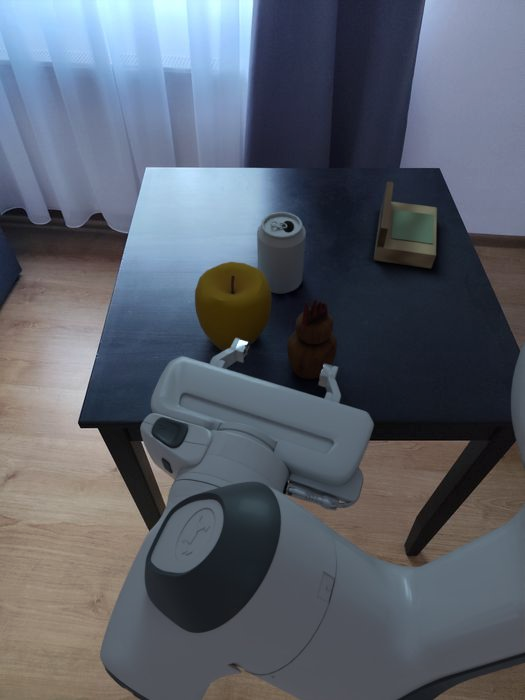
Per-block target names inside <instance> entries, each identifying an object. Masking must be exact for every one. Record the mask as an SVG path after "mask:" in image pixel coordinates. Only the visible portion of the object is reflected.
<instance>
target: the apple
mask: <svg viewBox="0 0 525 700" xmlns="http://www.w3.org/2000/svg"><path fill="white" fill-rule="evenodd" d="M194 307H195V314H196V317H197V320H198V322H199V325H200V328H201V329H202V331H203V333H204V334H205V336H206V337H207V338H208V339H209V341H210V342H211V343H212V344H213V345H214V346H215V347H217V348H218V349H219V350H221V351H222V352H223V351H225V350H226V349H228V348H229V349H230V347H231V345H232V343H233V341H234V340H235V338H239V339H242V340H245V341H249V343H250V344H249V346H251V345H252V344H254V342H256V340H257V339H258V338H259V337H260V336H261V335H262V333H263V332H264V330H265V329H266V327H267V325H268V323H269V320H270V316H271V313H272V312H271V310H272V292H271V290H270V286H269V284H268V282H267V279H266V277H265V275H264V273H262V272H261V271H260V270H259V269H258V267H255V266H252V265H250V264H247V263H244V262H238V261H228V262H222V263H220V264H218V265H215V266H214V267H211V268H209V269H207V270H206V271H204V272H203V273H202V275H200V277H199V278H198V282H197V284H196V287H195V290H194Z"/></svg>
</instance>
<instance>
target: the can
mask: <svg viewBox="0 0 525 700" xmlns="http://www.w3.org/2000/svg"><path fill="white" fill-rule="evenodd" d="M256 234H257V235H256V237H257V238H256V241H257V243H256V244H257V248H256V249H257V268H258V269H259V270H260V271H261V272H262V273H264V275H265V277H266V279H267V282H268V284H269V286H270V290H271V293H273V294H279V295H281V294H282V295H283V294H287V293H290V292H293V291H295V290H296V289H298V288H299V287H300V285H301V284H302V283H303V282H302V281H303V278H304V277H303V276H304V262H305V249H306V236H307V231H306V228H305V226H304V225H303V222H302V219H300V217H298V216H297V215H295V214H294V213H292V212H291V213H290V212H288V211H287V212H286V211H276V212H272V213H269V214H268V215H266V216H264V217H263V219H262V220H261V223H260V225H259V226H258V228H257V230H256Z"/></svg>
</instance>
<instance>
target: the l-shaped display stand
mask: <svg viewBox="0 0 525 700" xmlns="http://www.w3.org/2000/svg"><path fill="white" fill-rule="evenodd" d="M393 191H394V182H393V181H387V182H386V184H385V189H384V194H383V198H382V202H381V208H380V211H379V217H378V224H377V225H378V226H377V232H376V239H375V247H374V254H373V261H377V262H383V263H384V262H385V263H392V264H397V265H404V266H411V267H417V268H425V269H432V268H433V265H434V262H435V260H436V257H437V226H438V225H437V221H438V220H437V219H438V207H435V206H428V205H422V204H413V203H406V202H398V201H392V200H393Z"/></svg>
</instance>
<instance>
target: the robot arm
mask: <svg viewBox="0 0 525 700" xmlns="http://www.w3.org/2000/svg"><path fill="white" fill-rule="evenodd" d="M249 344H250V343H249V341H245V340H242V339H239V338H235V340H234V341H233V343H232V345H231V347H230V349H229V348H228V349H226V350H225V351H223V350H222V351H221V352H220V353H219V352H218V354H216V355H214V356H213V357H212V358H211V359H210V362H209V363H208V362H205V361H202V360H199V359H198V360H197V359H194V358H191V357H189V356H185V355H181V356H178V357H176V358H174V359H172V360H170V361H169V362H168V363H167V365H166V366H165V368H164V370H163V372H162V373H161V374H160V376H159V379H158V381H157V383H156V385H155V388H154V389H153V393H152V394H151V398H150V408H151V412H152V413H149V414H147V416H145V417H144V419H143V420H142V423H141V424H140V428H139V429H140V435H141V439H142V442H143V444H144V447H145V449H146V451H147V453H148V455H149V457H150V459H151V460H152V462H153V463H154V464H155V466H156V467H158V468H159V469H160V470H161V471H163V472H164V473H165V474H167V476H169V477H170V478H171V479H173V480H174V481H173V482H172V484H171V487H170V488H169V492H168V496H167V502H166V504H165V508H164V511H163V512H162V515H161V516H160V518H159V520H158V521H157V522H156V523H155V524H154V526H153V527H152V528H151V529H150V530H149V531H148V533H147V534H146V535H145V538H144V539H143V542H142V543H141V545H140V548H139V549H138V551H137V553H136V555H135V557H134V559H133V562H132V563H131V566H130V568H129V571H128V572H127V575H126V576H125V579H124V581H123V584H122V586H121V589H120V591H119V594H118V596H117V598H116V600H115V603H114V606H113V609H112V612H111V614H110V617H109V620H108V623H107V625H106V629H105V632H104V634H103V639H102V641H101V646H100V651H99V658H100V662H101V663H102V665H103V667H104V670H105V671H106V673H107V674H108V676H109V677H110V678H111V679H112V680H113V681H114V682H115V683H116V684H117V685H118V686H120V687H121V688H122V689H124V690H127V691H128V692H130V693H131V695H133V696H134V698H137V699H138V700H203V699H204V696H205V695H206V693H207V691H208V690H209V687H210V685H211V684H212V683H214V682H215V681H218V680H219V679H222V678H224V677H227V676H231V675H238V674H242V670H244V672H246V673H248V674H250V675H252V676H254V677H256V678H258V679H260V680H262V681H263V682H265V683H268V684H269V685H271V686H273V687H275V688H277V689H278V690H281V691H283V692H285V693H287V694H289V695H291V696H292V697H294V698H296V699H298V700H435V699H437V698H438V697H439V696H441V695H442V694H443V693H445V692H447V691H448V690H450V689H452V688H454V687H456V686H458V685H459V684H462V683H465V682H468V681H469V680H473V679H475V678H478V677H482V676H485V675H489V674H493V673H495V672H499V671H503V670H507V669H509V668H512V667H513V668H514V667H516V666H519V665H522V664H525V502H524V503H523V505H522V506H521V508H520V509H519V510H518V512H517V513H516V514H515V515H514V516H512V518H511V519H510V520H508V521H507V522H505V523H504V524H502V525H500V526H498V527H496V528H495V529H492V530H490V531H489V532H487V533H485V534H483V535H481V536H478V537H476V538H475V539H473V540H471V541H469V542H467V543H465V544H463V545H461V546H459V547H457V548H454V549H453V550H451V551H449V552H447V553H444V554H443V555H441V556H439V557H437V558H435V559H433V560H431V561H428V562H427V563H425V564H422V565H420V566H404V565H400V564H395V563H393V562H389V561H386V560H383V559H381V558H378V557H376V556H374V555H372V554H370V553H368V552H366V551H365V550H363V549H362V548H360V547H359V546H357V544H354V542H352V541H351V540H349V539H348V538H346V537H344V535H342V534H340V533H339V532H337V531H336V530H335V529H333V528H331V526H329V525H328V524H326V523H325V522H324V521H323V520H322V519H321V518H319V517H317V516H316V515H314V514H313V513H312V512H310V511H309V510H308V509H306V508H305V507H304V506H302V505H301V504H300V503H297V502H296V501H294V500H293V499H292V498H294V499H296V500H301V501H303V502H309V503H312V504H315V505H318V506H320V507H321V508H323V509H325V510H329V511H337V510H338V509H346V508H350V507H352V506H354V505H355V504H356V503H357V502H358V501H359V499H360V496H361V493H362V489H363V485H364V474H363V471H362V470H361V468H360V465H361V463H362V460H363V458H364V456H365V453H366V451H367V448H368V445H369V442H370V439H371V437H372V433H373V430H374V427H375V423H374V420H373V419H372V417H371V415H370V413H369V412H367V411H365V410H363V409H360V408H356V407H353V406H350V405H346V404H344V403H343V404H342V403H340V402H341V398H342V394H341V391H340V388H339V385H338V382H337V380H336V379H337V376H338V372H339V366H336V365H333V364H332V365H330V364H326V363H324V365H323V369H322V370H321V373H320V377H318V379H319V380H318V384H317V385H318V386H320V387H323V388H325V390H326V393H325V396H324V398H323V397H319V396H316V395H313V394H310V393H307V392H303V391H300V390H297V389H293V388H290V387H287V386H284V385H280V384H276V383H274V382H271V381H267V380H264V379H261V378H257V377H254V376H250V375H247V374H244V373H241V372H237V371H234V370H231V369H228V368H229V367H230V366H231V365H234V363H236V362H239V363H242V364H244V363H245V361H246V359H247V356H248V355H249V353H250V346H251V344H250V345H249ZM513 371H514V372H513V376H512V381H511V392H510V413H511V424H512V429H513V432H514V437H515V441H516V445H517V449H518V452H519V456H520V460H521V463H522V466H523V469H524V471H525V341H524V342H523V344H522V347H521V349H520V351H519V355H518V357H517V360H516V363H515V367H514V370H513ZM241 669H242V670H241Z"/></svg>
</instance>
